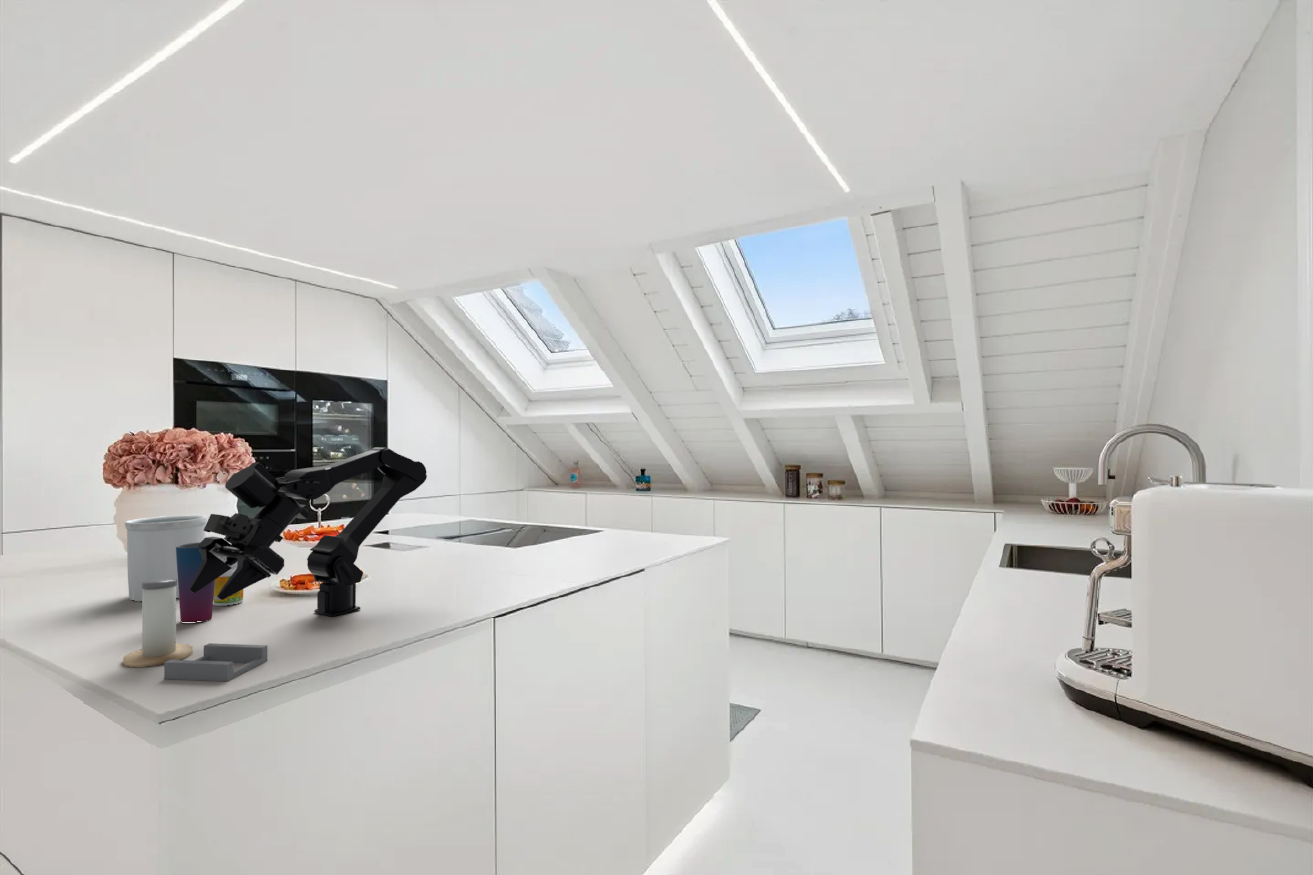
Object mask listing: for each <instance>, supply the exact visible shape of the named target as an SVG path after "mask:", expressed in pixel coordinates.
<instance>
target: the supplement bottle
mask: <svg viewBox="0 0 1313 875" xmlns="http://www.w3.org/2000/svg"><path fill="white" fill-rule="evenodd" d="M230 567H231V569H230V570H228V571H227V572H226V573H224V574H223V575H221V576H220V577H218V578H217V579H215V588H214V599H213V606H216V607H228V606H227V605H230V606H234V605H233V604H236V605H238V603H239V604H241V603H243V602H244V589H242V590H241V591H239V592H237V593H235V594H233V595H231V596H229V597H227V598H226V599H224V600H221V599H219V598H218V597H217V596H218V594H219V592H220V591H221V589H222V588H223V586H224V585H225V584H226V582H227V581H228V580H229V578H230V577H231V575H232V574H233V573H234V571H235V570H236V569H237V562H236V563H235V564H233V565H231V566H230ZM242 601H243V602H242Z"/></svg>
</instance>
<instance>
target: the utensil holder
mask: <svg viewBox="0 0 1313 875" xmlns="http://www.w3.org/2000/svg"><path fill="white" fill-rule="evenodd" d="M207 521H208V518H207V516H206V515H205V514H178V515H177V514H175V515H163V516H152V517H143V518H134V519H129V520H126V521H125V523H124V527H125V529H126V551H127V552H126V553H127V554H126V555H127V556H126V557H127V558H126V559H127V561H126V562H127V584H128V585H127V586H128V598H129V600H130V601H132V600H134V601H133V602H141V601H142V597H143V589H142V582H145V581H148V580H154V579H162V578H175V579H177V585H176V598H177V599H179V588H178V573H177V558H176V546H177V545H181V544H187V543H196V542H202V540H203V539H204V538H206V531H203V530H204V528H205V526H206V523H207Z"/></svg>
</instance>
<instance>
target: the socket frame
mask: <svg viewBox="0 0 1313 875" xmlns="http://www.w3.org/2000/svg"><path fill="white" fill-rule="evenodd" d="M267 661H268V645H266V644H265V645H264V644H244V643H243V644H239V643H237V644H236V643H210V642H209V643H207V644H205V645H203V656H201V657H199V658H196V659H194V660H193V659H191V660H190V659H189V660H188V659H182V660H169V661H166V662H164V664H163V665H164V667H163V668H164V669H163V671H164V672H163V673H164V674H163V676H164V677H163V679H164V680H180V679H181V680H182V681H183V680H184V681H185V680H187V681H205V682H206V681H207V682H208V681H209V682H210V681H212V682H213V681H214V682H229V681H230V680H232V679H234V678H237V677H238V676H240V675H242V674H244V673H246V672H248V671H249V670H252V669H254V668H256V667H258V666H259V665H262V664H263V663H265V662H267ZM234 663H244V664H242V665H241V666H239V667H236V668H235V669H234Z"/></svg>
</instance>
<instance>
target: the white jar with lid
mask: <svg viewBox="0 0 1313 875" xmlns="http://www.w3.org/2000/svg"><path fill="white" fill-rule="evenodd" d="M176 585H177V579H175V578H162V579H154V580H148V581H145V582H142V589H143V597H142V602H141V603H142V605H141V606H142V612H141V613H142V616H141V617H142V618H141V619H142V620H141V621H142V623H141V625H142V627H141V629H142V630H141V636H142V637H141V649H142V656H143V657H157V656H163V655H167V654H170V653H173V652H175V651H176V644H177V599H176Z"/></svg>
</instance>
